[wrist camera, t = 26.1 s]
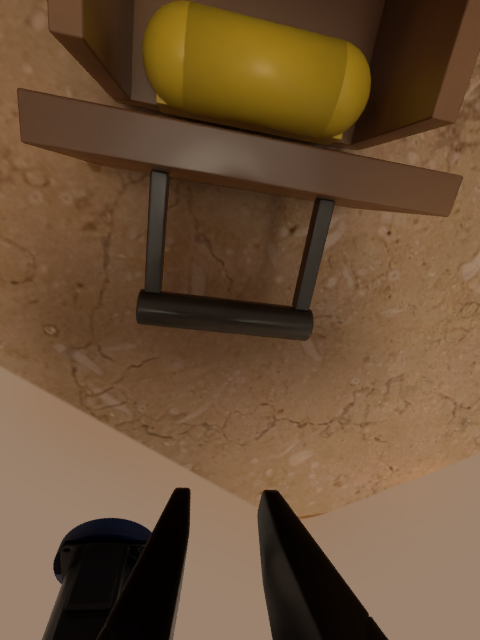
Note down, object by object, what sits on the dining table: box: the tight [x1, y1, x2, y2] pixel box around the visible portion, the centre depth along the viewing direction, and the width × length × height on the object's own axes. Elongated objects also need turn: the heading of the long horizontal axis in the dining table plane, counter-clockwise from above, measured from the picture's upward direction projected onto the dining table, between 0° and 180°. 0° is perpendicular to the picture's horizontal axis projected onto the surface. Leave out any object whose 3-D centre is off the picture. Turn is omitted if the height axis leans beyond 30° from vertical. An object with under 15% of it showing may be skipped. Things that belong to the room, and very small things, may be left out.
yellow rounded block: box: [142, 0, 371, 145], centre depth 12 cm, size 8×3×3 cm, turn 81°
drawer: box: [17, 0, 480, 341], centre depth 11 cm, size 19×12×7 cm, turn 171°
